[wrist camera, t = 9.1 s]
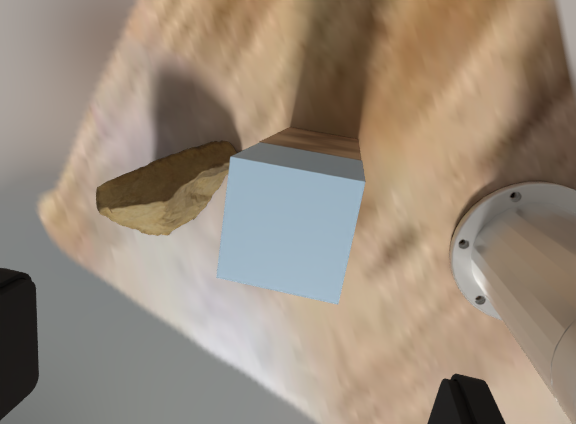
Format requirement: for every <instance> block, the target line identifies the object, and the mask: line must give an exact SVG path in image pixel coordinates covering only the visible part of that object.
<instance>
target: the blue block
mask: <svg viewBox="0 0 576 424" xmlns="http://www.w3.org/2000/svg"><path fill="white" fill-rule="evenodd" d="M364 186H365V176H364V169H363V163H362V161H361V160H355V159H350V158H344V157H339V156H333V155H328V154H322V153H317V152H311V151H306V150H300V149H295V148H289V147H284V146H278V145H273V144H267V143H262V142H260V143H258V144H256V145H254V146H252V147H249V148H247V149H245V150H243V151H241V152H239V153H237V154H235V155H233V156H231V157H230V165H229V174H228V183H227V191H226V200H225V208H224V217H223V226H222V234H221V243H220V252H219V260H218V269H217V278H220V279H225V280H229V281H234V282H238V283H243V284H247V285H252V286H256V287H261V288H266V289H270V290H275V291H279V292H284V293H288V294H293V295H297V296H302V297H306V298H311V299H315V300H320V301H324V302H329V303H333V304H338V303H339V298H340V294H341V289H342V285H343V280H344V276H345V271H346V267H347V262H348V258H349V253H350V249H351V244H352V240H353V235H354V231H355V226H356V222H357V217H358V213H359V208H360V204H361V199H362V195H363V190H364Z"/></svg>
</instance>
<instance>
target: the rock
mask: <svg viewBox="0 0 576 424" xmlns="http://www.w3.org/2000/svg"><path fill="white" fill-rule="evenodd" d="M235 154H237V153H236V151H235V149H234V148H233V146H232V145H231V144H230V143H229V142H228V141H220V142H217V141H214V142H210V143H207V144H204V145H200V146H198V147H192V148H189V149H186V150H183V151H181V152H179V153H176V154H172V155H169V156H167V157H165V158H161V159H158V160H156V161H153V162H151V163H150V164H148V165H146V166H145V167H140V168H139V169H137V170H134V171H132V172H129V173H126V174H123V175H121V176H119V177H117V178H115V179H112V180H109V181H107V182H105V183H104V184H102V185H101V186H99V187H97V191H96V205H97V209H98V211H99V213H100V214H101V215H104V216H106V217H108V218H109V219H110V220H111V221H114V222H117V223H118V224H119V225H122V226H126V227H129V228H131V229H137V230H139V231H140V232H141V233H145V234H148V235H157V236H158V235H160V234H162V235H170V233H171V232H172V231H173V230H174V229H176V228H178V227H180V226H181V225H183V224H186V223H187V222H189V221H190V220H192V219H193V220H194V219H195V218H196V216H197V215H198V214H199V213H200V212H201V211H202V210H203V209H204V208H205V207H206V206H207V203H208V202H209V201H210V200H211V198H212V195H213V194H214V192H215V191H216V190H217V189H218V188H219V187H220V185H221V184H222V181H223V179H224V177H225V176H226V175H227V174H229V165H230V157H231V156H233V155H235Z"/></svg>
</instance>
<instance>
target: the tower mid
mask: <svg viewBox="0 0 576 424" xmlns="http://www.w3.org/2000/svg"><path fill="white" fill-rule="evenodd" d="M260 142H262V143H267V144H273V145H278V146H284V147H289V148H295V149H300V150H306V151H311V152H317V153H322V154H328V155H333V156H339V157H344V158H350V159H355V160H361V154H360V147H354V146H348V145H343V144H337V143H331V142H326V141H320V140H314V139H309V138H303V137H297V136H292V135H286V134H280V133H277V134H275V135H272V136H270V137H268V138H266V139H264V140H262V141H260ZM260 142H259V143H260Z"/></svg>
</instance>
